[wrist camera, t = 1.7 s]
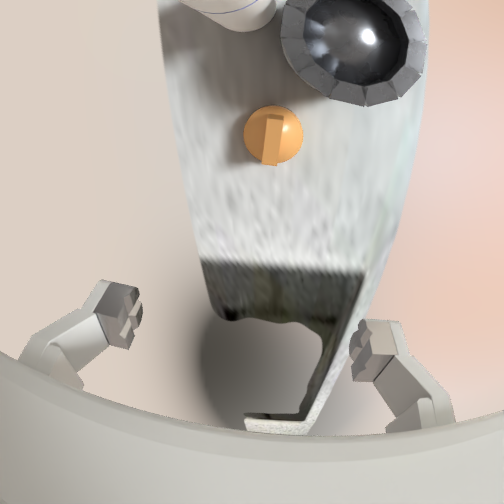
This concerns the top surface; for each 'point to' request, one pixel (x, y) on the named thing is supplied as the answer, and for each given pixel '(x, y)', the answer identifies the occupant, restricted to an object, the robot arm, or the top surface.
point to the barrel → (354, 47)
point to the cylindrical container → (236, 12)
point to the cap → (273, 134)
